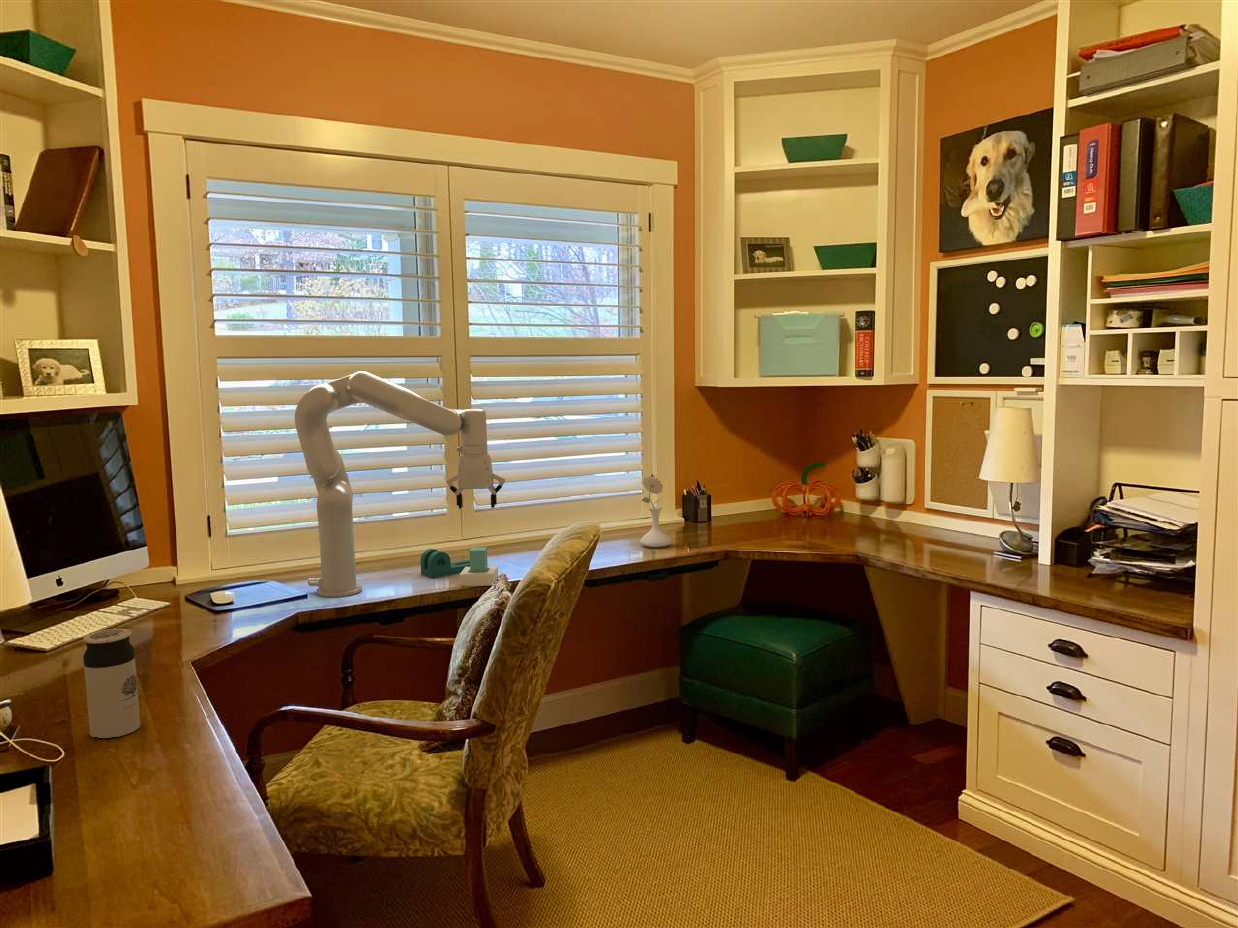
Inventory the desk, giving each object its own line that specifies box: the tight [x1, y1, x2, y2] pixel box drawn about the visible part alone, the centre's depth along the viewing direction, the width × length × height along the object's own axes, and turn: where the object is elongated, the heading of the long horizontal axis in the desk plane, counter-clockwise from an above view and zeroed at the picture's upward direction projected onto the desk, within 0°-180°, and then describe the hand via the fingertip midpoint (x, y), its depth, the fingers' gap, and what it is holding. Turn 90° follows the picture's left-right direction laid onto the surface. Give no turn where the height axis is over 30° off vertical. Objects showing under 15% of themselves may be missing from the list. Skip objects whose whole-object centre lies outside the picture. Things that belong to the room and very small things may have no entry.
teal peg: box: [468, 546, 489, 573], centre depth 270 cm, size 4×4×10 cm
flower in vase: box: [639, 475, 673, 548], centre depth 317 cm, size 13×11×25 cm
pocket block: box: [459, 565, 499, 587], centre depth 270 cm, size 10×10×4 cm
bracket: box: [420, 548, 470, 579], centre depth 284 cm, size 18×7×8 cm, turn 130°
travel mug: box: [82, 628, 141, 739], centre depth 162 cm, size 8×8×18 cm
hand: (476, 507), depth 269 cm, fingers open, 9 cm apart
